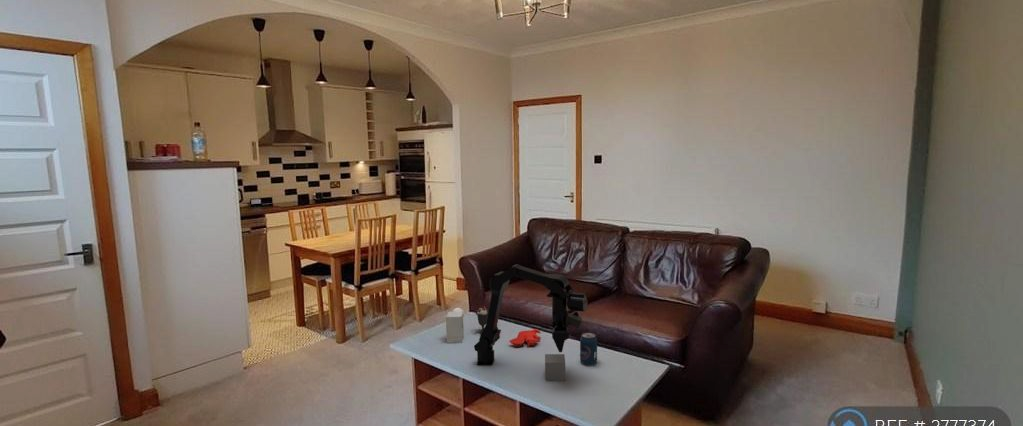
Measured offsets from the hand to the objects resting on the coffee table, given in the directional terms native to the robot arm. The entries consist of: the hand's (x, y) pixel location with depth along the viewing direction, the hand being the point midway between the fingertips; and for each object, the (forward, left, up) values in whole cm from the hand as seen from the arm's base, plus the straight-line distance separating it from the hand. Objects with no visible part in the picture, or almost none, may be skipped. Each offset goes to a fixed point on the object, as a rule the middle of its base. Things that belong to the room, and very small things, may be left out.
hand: (560, 347), depth 187 cm
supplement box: (-48, +35, -12) cm, 61 cm away
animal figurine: (-15, +31, -12) cm, 36 cm away
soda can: (+12, +12, -12) cm, 21 cm away
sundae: (-36, +44, -12) cm, 58 cm away
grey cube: (-2, 0, -12) cm, 12 cm away
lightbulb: (-49, +48, -12) cm, 70 cm away
